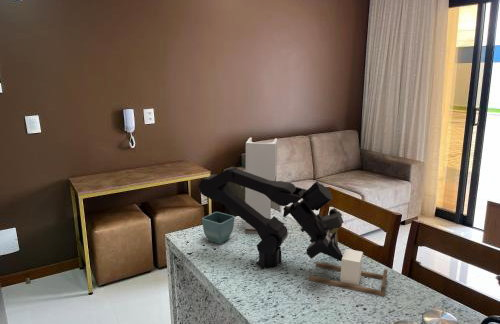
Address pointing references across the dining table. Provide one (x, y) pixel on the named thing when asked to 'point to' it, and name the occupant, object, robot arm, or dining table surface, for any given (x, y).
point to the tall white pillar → (263, 165)
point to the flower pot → (218, 226)
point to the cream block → (351, 267)
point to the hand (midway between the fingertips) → (342, 259)
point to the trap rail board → (351, 286)
